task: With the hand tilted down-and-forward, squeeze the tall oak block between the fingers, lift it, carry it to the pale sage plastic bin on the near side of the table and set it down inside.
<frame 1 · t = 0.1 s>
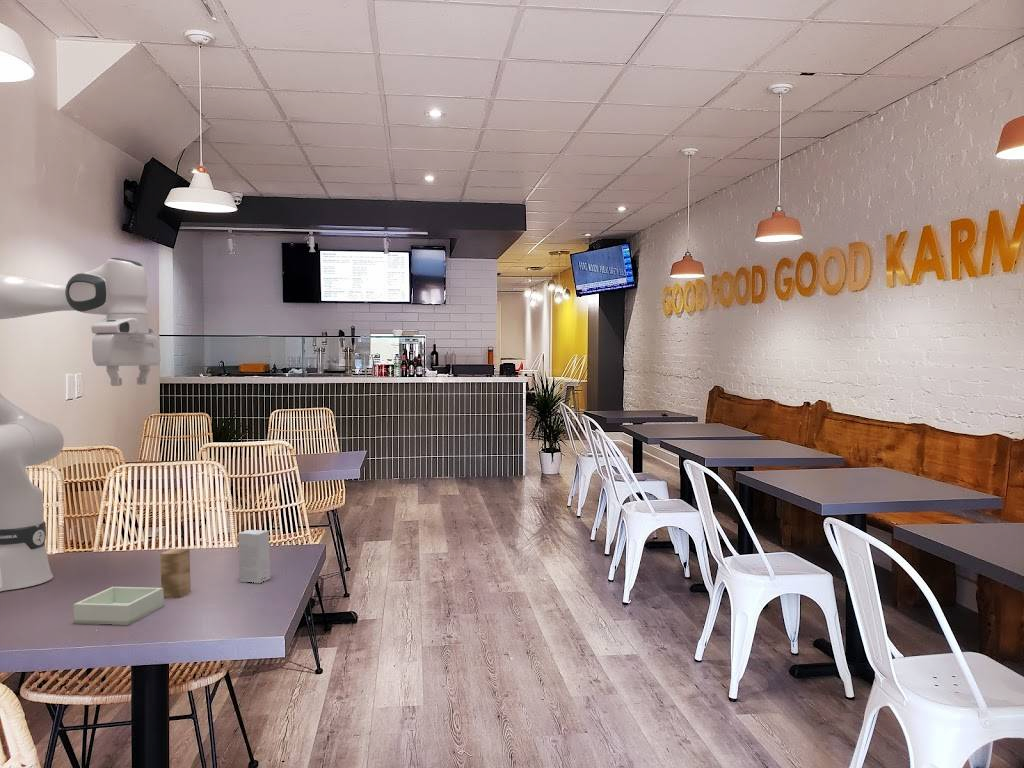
hand: (129, 385, 176), 48 cm above the table, tool pointing down, fingers open, 8 cm apart
bin: (120, 614, 156), on the table
skincare box: (254, 581, 179), on the table
oak block: (176, 594, 169), on the table
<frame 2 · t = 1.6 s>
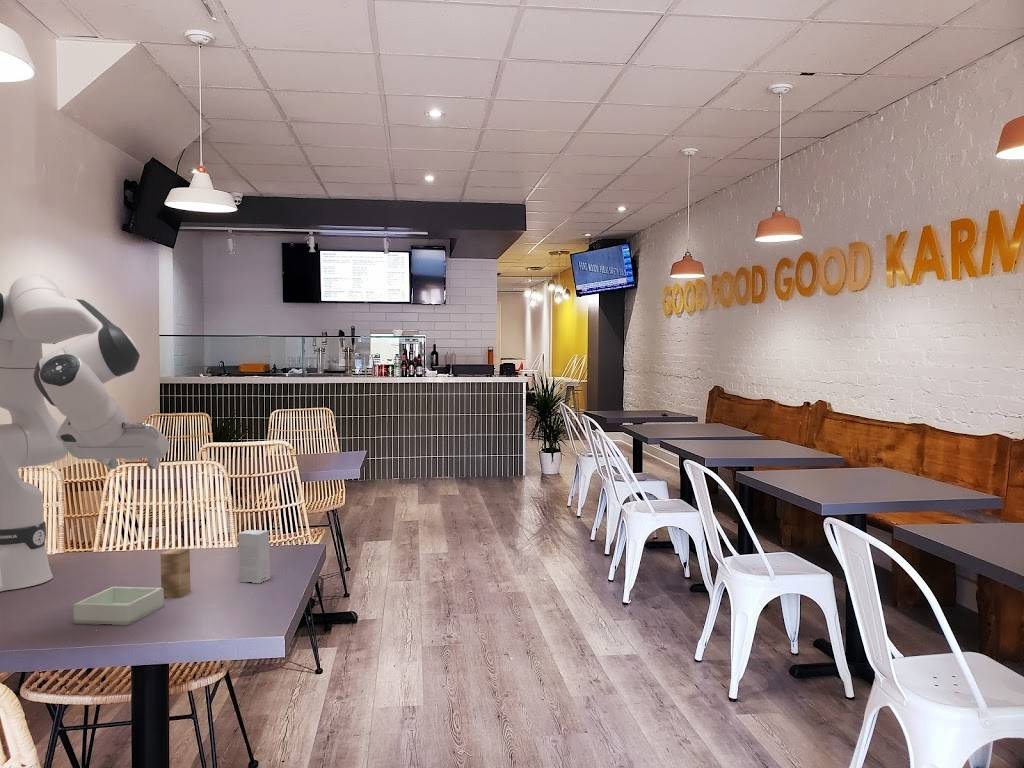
hand: (134, 466, 156), 31 cm above the table, tool tilted 45°, fingers open, 8 cm apart
nothing on the table moved.
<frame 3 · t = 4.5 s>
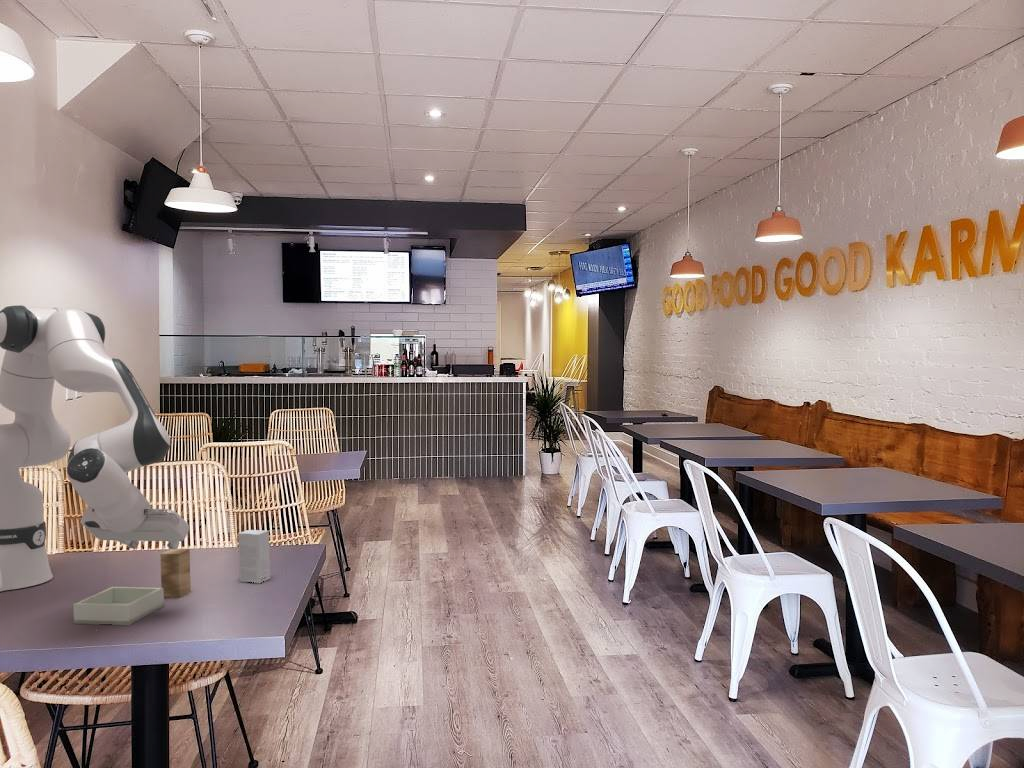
hand: (154, 546, 162), 13 cm above the table, tool tilted 45°, fingers open, 8 cm apart
nothing on the table moved.
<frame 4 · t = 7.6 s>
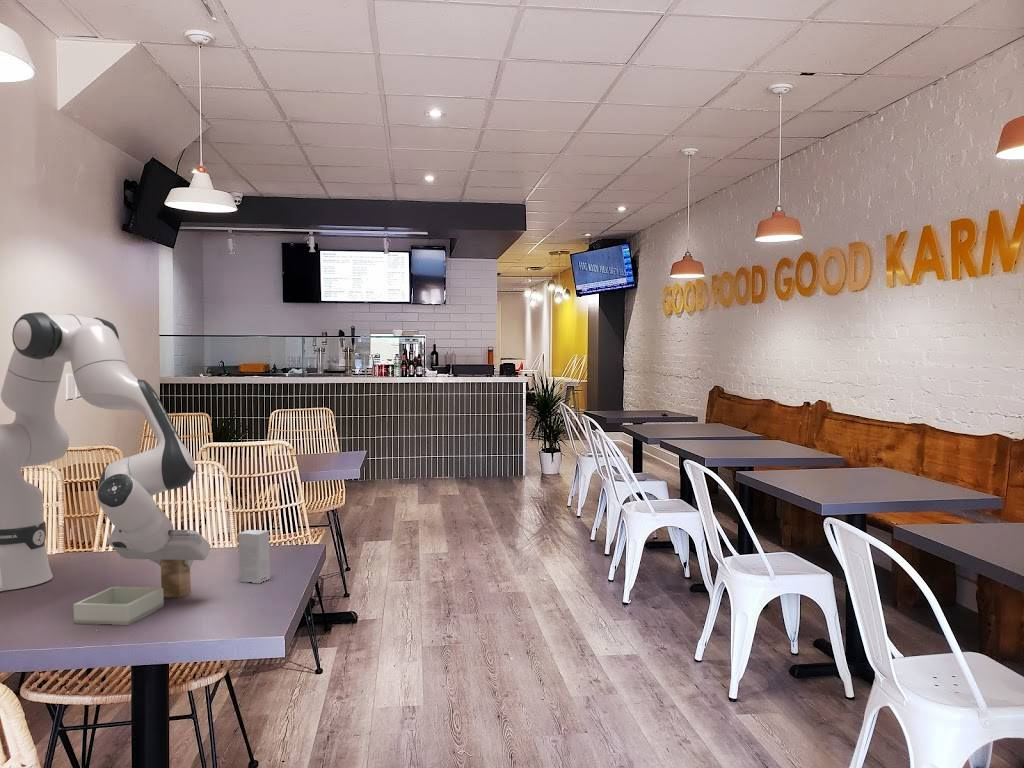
hand: (177, 563, 170), 7 cm above the table, tool tilted 45°, fingers closed on oak block, 4 cm apart
oak block: (176, 594, 169), on the table, touching gripper
everything else where it was.
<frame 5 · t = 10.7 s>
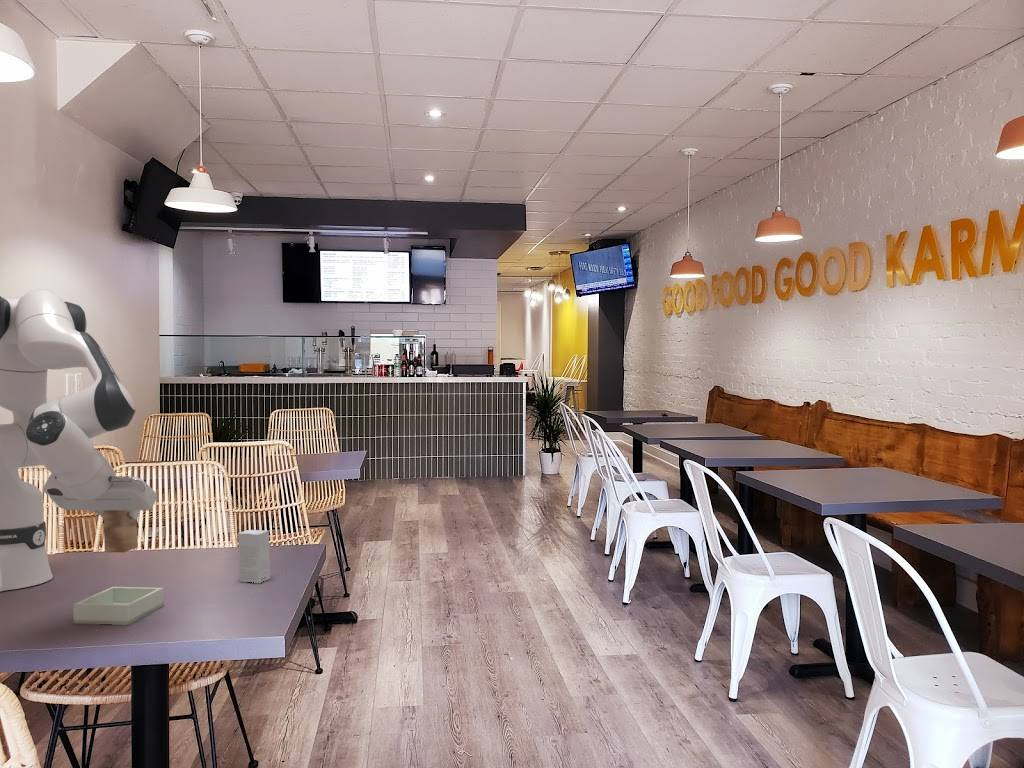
hand: (122, 516, 156), 21 cm above the table, tool tilted 45°, fingers closed on oak block, 4 cm apart
oak block: (121, 549, 156), point 14 cm above the table, touching gripper
everything else where it was.
when the fingers open (9 cm above the table, at t = 13.8 s): oak block drops 2 cm, resting on bin.
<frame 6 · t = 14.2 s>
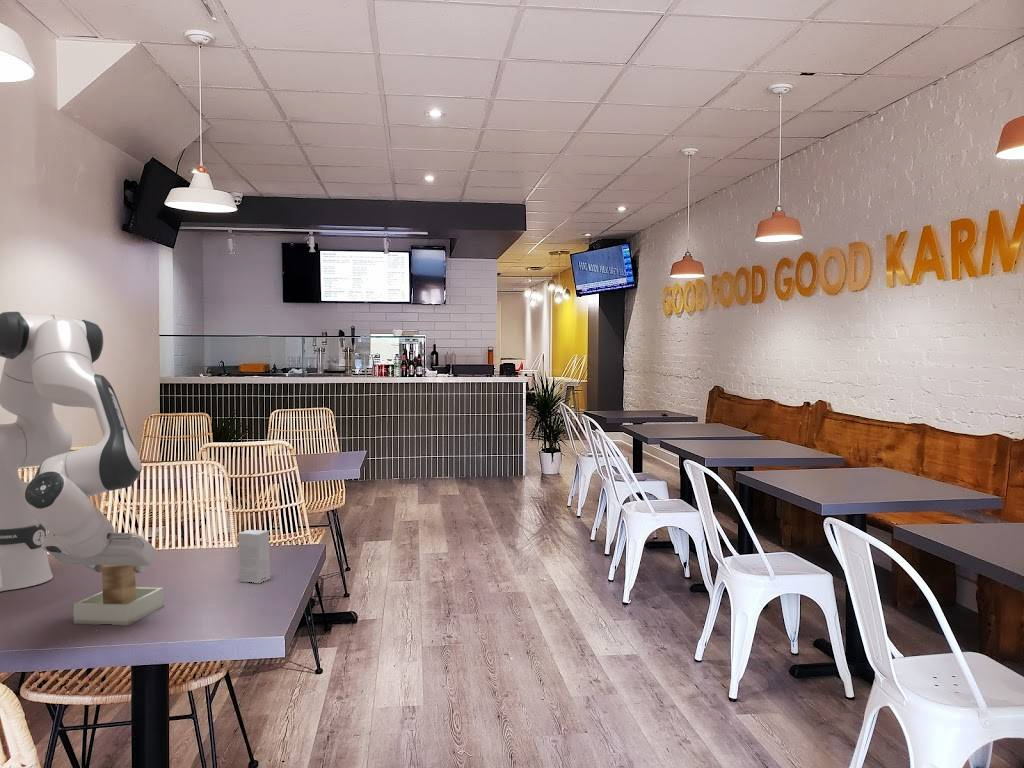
hand: (120, 569, 156), 9 cm above the table, tool tilted 45°, fingers open, 8 cm apart
oak block: (119, 610, 156), point 1 cm above the table, touching bin
everything else where it was.
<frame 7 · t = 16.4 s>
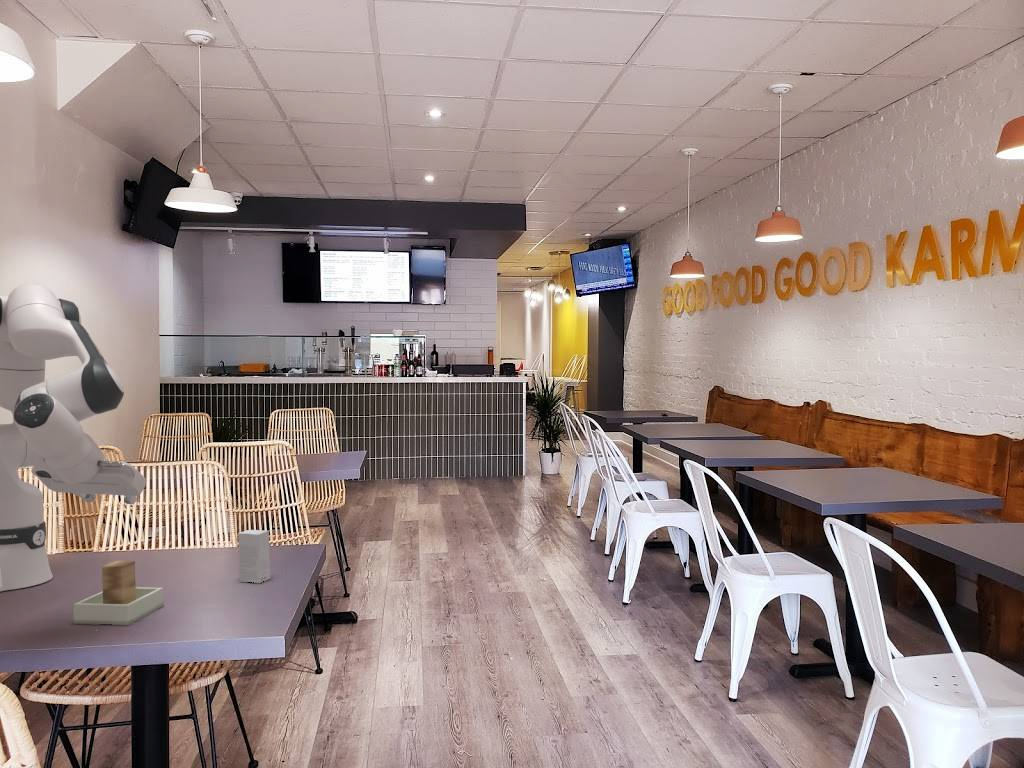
hand: (111, 500, 155), 24 cm above the table, tool tilted 45°, fingers open, 8 cm apart
nothing on the table moved.
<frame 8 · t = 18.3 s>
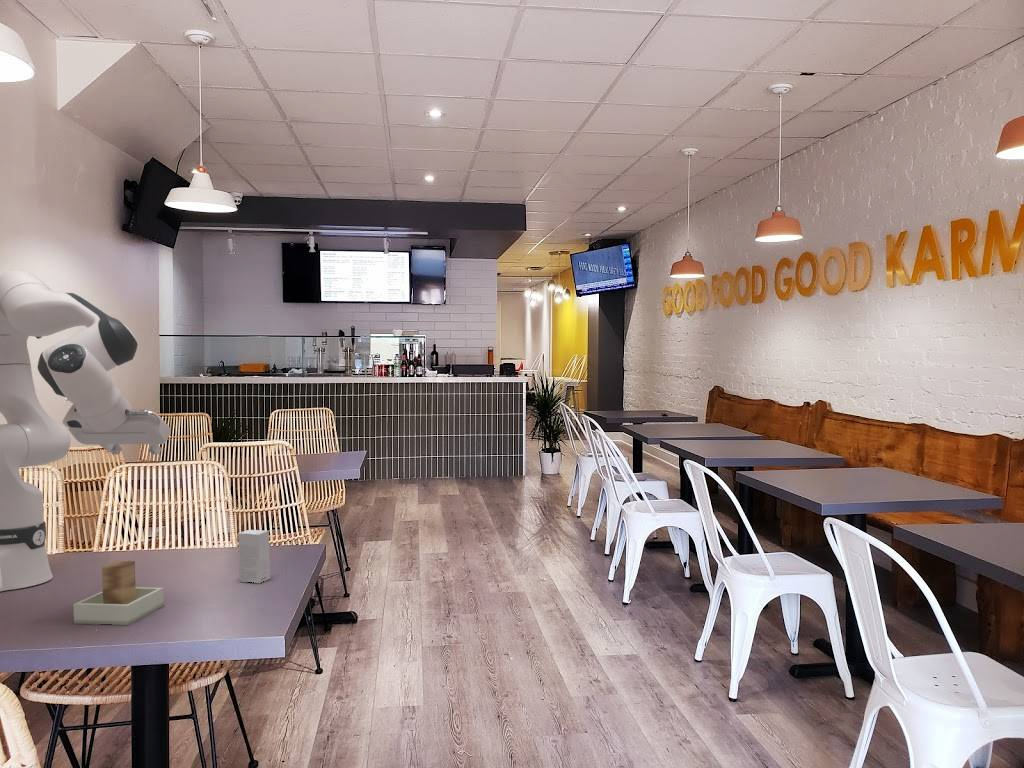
hand: (137, 452, 164), 33 cm above the table, tool tilted 45°, fingers open, 8 cm apart
nothing on the table moved.
at the end: oak block inside the target area on the bin (0.1 cm from its centre), point 0.8 cm above the bin's base; oak block tilted 0°; the gripper is holding nothing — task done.
